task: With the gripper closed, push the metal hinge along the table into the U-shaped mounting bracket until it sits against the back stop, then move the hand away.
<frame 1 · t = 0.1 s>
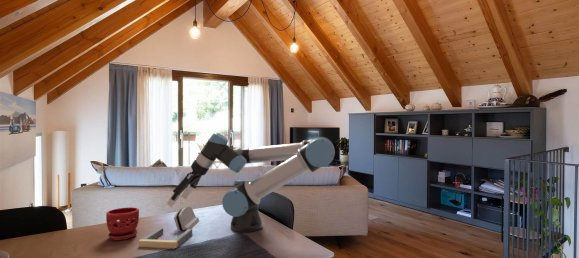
hand: (176, 201, 145), 15 cm above the table, tool tilted 35°, fingers open, 13 cm apart
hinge: (186, 226, 158), on the table
bracket: (167, 240, 139), on the table
plant pot: (123, 237, 144), on the table
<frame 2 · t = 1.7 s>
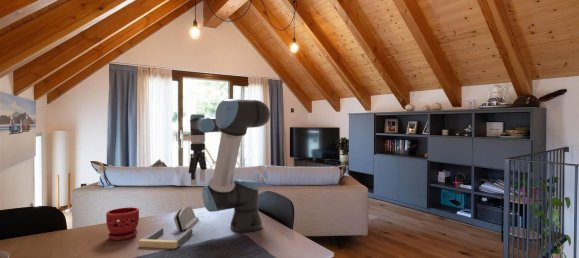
hand: (198, 183, 172), 18 cm above the table, tool pointing down, fingers open, 11 cm apart
nothing on the table moved.
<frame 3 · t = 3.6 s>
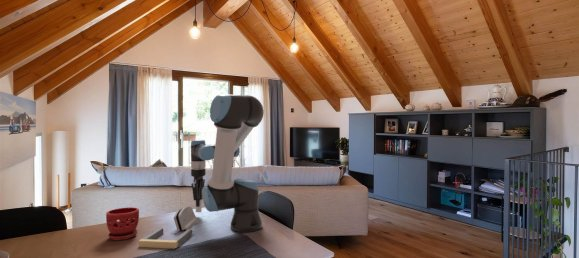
hand: (198, 211, 173), 3 cm above the table, tool pointing down, fingers closed
nothing on the table moved.
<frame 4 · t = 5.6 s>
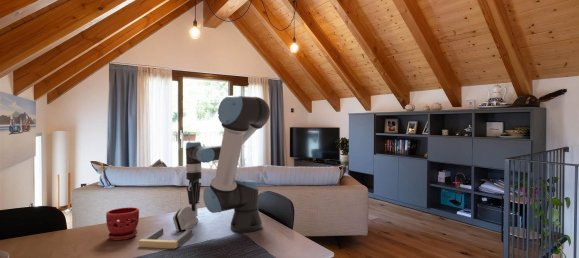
hand: (194, 216, 167), 2 cm above the table, tool pointing down, fingers closed
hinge: (185, 226, 157), on the table, touching gripper
everything else where it was.
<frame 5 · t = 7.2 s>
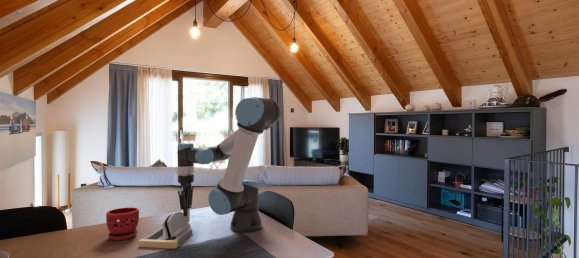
hand: (186, 221, 158), 2 cm above the table, tool pointing down, fingers closed
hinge: (176, 233, 148), on the table, touching gripper
everything else where it was.
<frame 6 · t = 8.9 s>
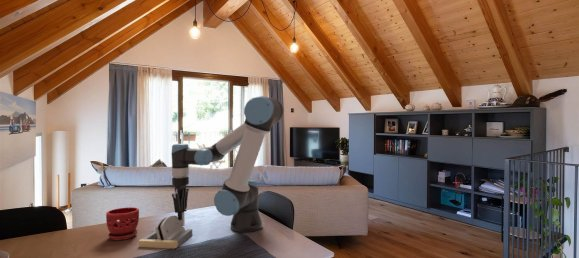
hand: (181, 225, 152), 2 cm above the table, tool pointing down, fingers closed
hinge: (170, 237, 142), on the table, touching gripper
everything else where it was.
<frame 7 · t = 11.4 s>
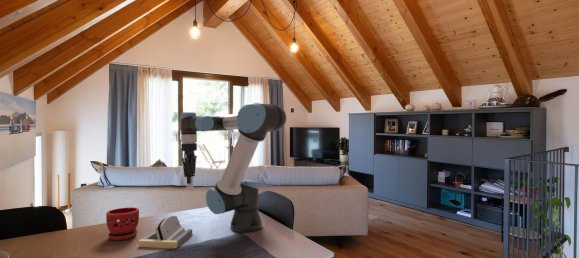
hand: (190, 189, 161), 17 cm above the table, tool pointing down, fingers closed
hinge: (170, 238, 142), on the table
everything else where it was.
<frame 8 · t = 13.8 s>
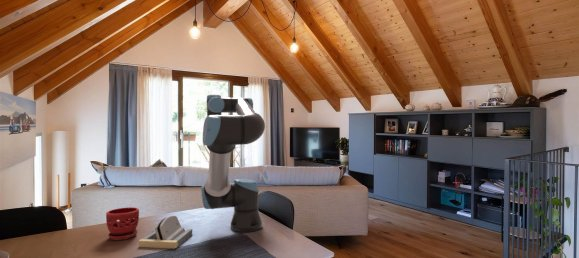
hand: (214, 168, 169), 26 cm above the table, tool pointing down, fingers closed
nothing on the table moved.
at the end: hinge 1.4 cm from the target spot on the bracket, point 0.0 cm above the bracket's base; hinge tilted 0°; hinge moved 15.8 cm from its start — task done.
